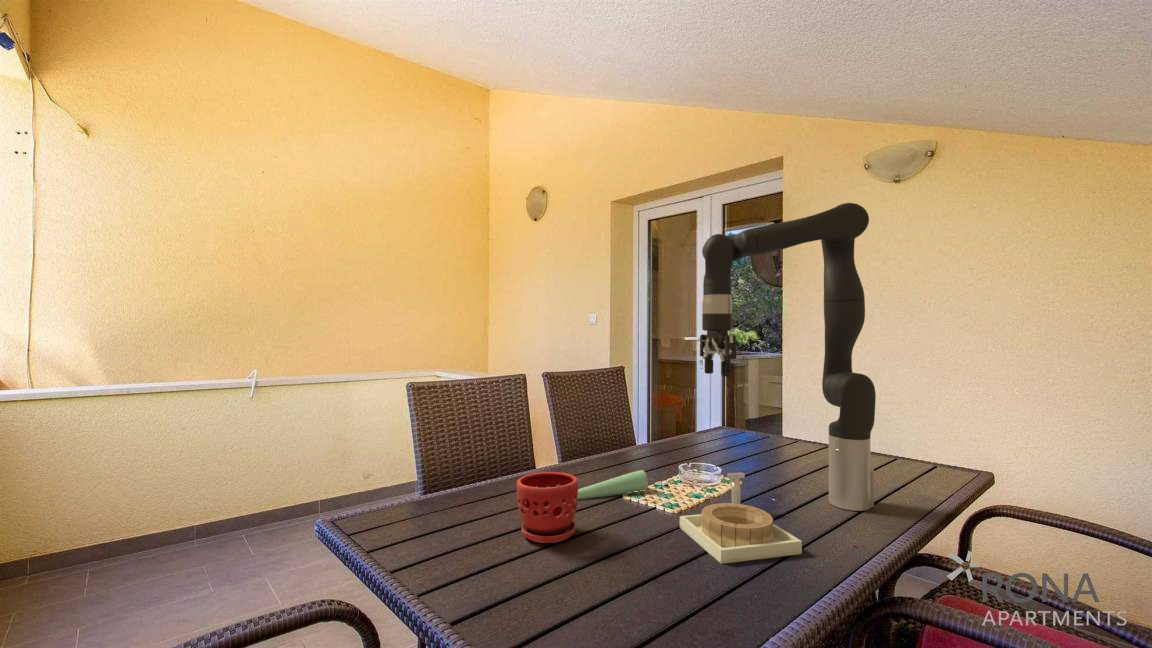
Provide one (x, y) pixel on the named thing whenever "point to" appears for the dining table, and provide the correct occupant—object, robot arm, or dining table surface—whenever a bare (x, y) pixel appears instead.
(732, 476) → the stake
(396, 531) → the dining table surface
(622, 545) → the dining table surface
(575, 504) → the plant pot
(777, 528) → the tray
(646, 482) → the mint green cone
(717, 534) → the wooden ring
